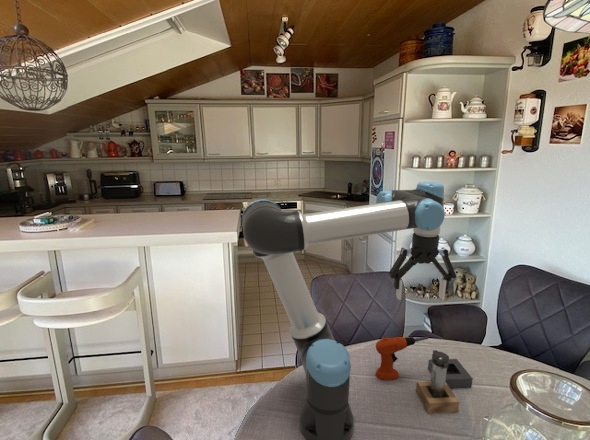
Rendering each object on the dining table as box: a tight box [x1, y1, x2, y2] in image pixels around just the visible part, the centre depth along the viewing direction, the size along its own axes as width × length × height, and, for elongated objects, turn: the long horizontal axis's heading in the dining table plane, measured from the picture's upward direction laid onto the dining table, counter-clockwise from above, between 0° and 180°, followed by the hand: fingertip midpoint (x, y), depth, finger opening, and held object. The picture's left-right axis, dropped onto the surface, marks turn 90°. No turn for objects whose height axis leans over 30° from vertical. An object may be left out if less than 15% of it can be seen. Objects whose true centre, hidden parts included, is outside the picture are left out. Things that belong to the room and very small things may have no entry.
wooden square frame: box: [415, 380, 460, 414], centre depth 104 cm, size 9×9×4 cm
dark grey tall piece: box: [430, 350, 450, 398], centre depth 103 cm, size 7×5×15 cm, turn 3°
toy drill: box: [375, 336, 429, 381], centre depth 114 cm, size 5×19×15 cm, turn 97°
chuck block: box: [427, 358, 474, 390], centre depth 114 cm, size 10×10×4 cm
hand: (419, 298), depth 107 cm, fingers open, 13 cm apart
